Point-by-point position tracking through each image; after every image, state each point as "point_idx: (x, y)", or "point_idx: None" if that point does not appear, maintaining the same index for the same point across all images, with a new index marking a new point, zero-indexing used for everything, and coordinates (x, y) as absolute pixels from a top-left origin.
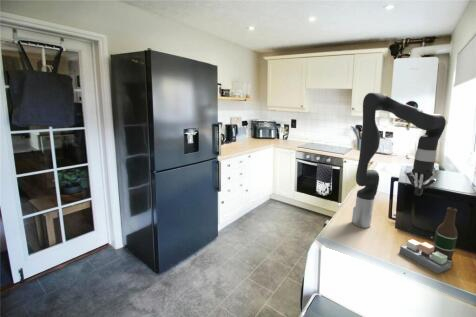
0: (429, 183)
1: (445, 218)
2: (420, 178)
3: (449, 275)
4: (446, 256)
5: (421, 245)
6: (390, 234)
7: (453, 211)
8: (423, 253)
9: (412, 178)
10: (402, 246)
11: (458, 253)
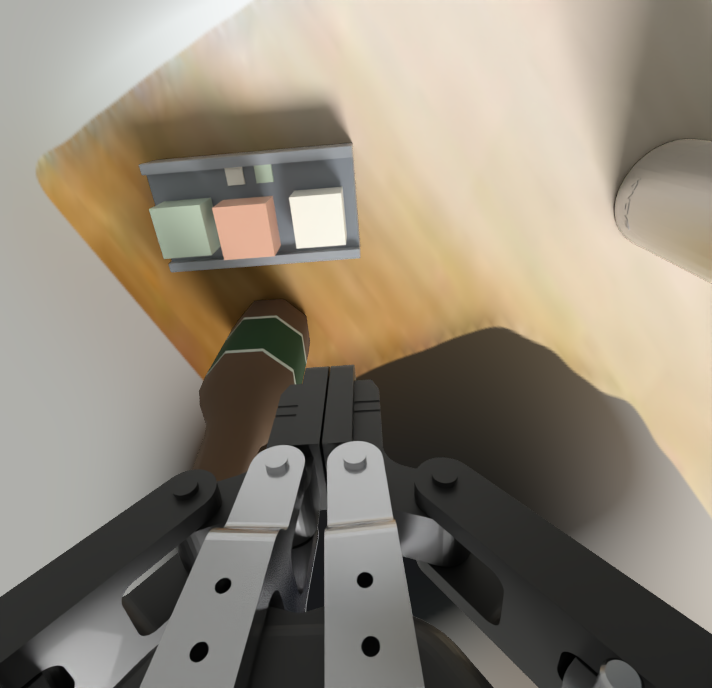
0: (25, 605)
1: (241, 441)
2: (224, 671)
3: (138, 201)
4: (162, 250)
5: (256, 202)
6: (496, 264)
7: None
8: None
9: (514, 607)
10: (344, 153)
11: None
